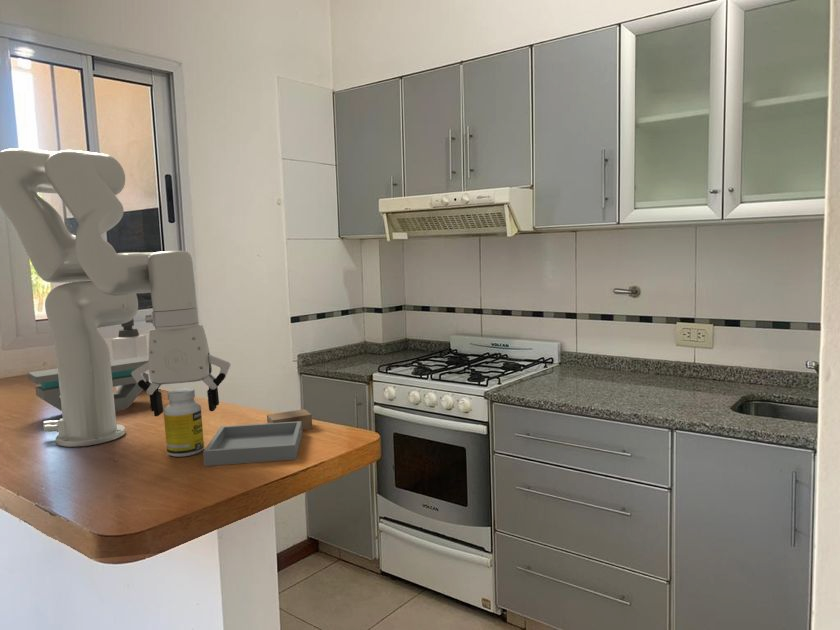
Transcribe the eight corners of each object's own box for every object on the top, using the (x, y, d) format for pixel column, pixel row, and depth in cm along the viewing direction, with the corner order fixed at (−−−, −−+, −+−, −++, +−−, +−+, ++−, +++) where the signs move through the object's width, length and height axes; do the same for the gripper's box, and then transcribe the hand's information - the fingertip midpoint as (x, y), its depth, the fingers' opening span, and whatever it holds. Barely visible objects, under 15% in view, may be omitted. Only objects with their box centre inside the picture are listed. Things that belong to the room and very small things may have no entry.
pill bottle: (192, 458, 116) (187, 395, 114) (159, 457, 117) (154, 394, 116) (210, 447, 122) (206, 386, 121) (180, 446, 123) (175, 386, 122)
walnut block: (273, 435, 128) (272, 420, 128) (267, 429, 133) (266, 414, 132) (312, 428, 132) (311, 414, 131) (305, 423, 136) (304, 409, 136)
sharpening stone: (40, 425, 143) (35, 377, 141) (33, 419, 148) (28, 372, 147) (155, 403, 159) (151, 360, 158) (144, 398, 165) (140, 356, 164)
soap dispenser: (111, 394, 171) (104, 312, 169) (127, 387, 180) (120, 308, 178) (136, 393, 171) (128, 311, 169) (150, 386, 180) (143, 307, 178)
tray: (204, 466, 111) (203, 451, 111) (221, 439, 127) (221, 426, 126) (295, 459, 113) (294, 445, 112) (302, 433, 128) (301, 421, 128)
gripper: (119, 325, 112) (130, 421, 114) (221, 317, 114) (230, 412, 115) (133, 321, 119) (143, 411, 121) (229, 313, 121) (237, 403, 123)
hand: (186, 412), depth 118 cm, fingers open, 9 cm apart
